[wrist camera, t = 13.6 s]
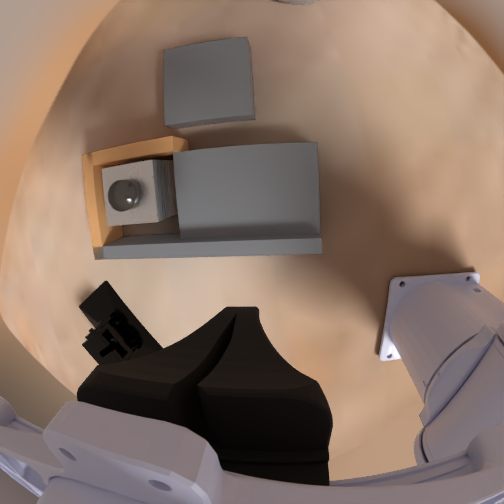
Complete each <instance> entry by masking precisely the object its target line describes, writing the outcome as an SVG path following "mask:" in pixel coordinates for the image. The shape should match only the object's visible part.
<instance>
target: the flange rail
mask: <svg viewBox="0 0 504 504" xmlns="http://www.w3.org/2000/svg"><path fill="white" fill-rule="evenodd" d="M171 155H173V161H174V175H175V187H176V198H177V209H178V219H179V228H180V233H173V234H154V235H137V236H123V232H122V225H117V226H108V223H107V216H106V208H105V199H104V190H103V179H102V169H104V168H109V167H114V166H115V165H117V164H122V163H127V162H133V161H139V160H144V159H151V158H157V157H164V156H171ZM82 164H83V177H84V188H85V198H86V206H87V214H88V221H89V228H90V234H91V240H92V246H93V251H94V257H95V260H99V259H143V258H185V257H224V256H261V255H296V254H322V237H321V235H320V200H319V171H318V150H317V142H300V143H271V144H254V145H240V146H228V147H217V148H207V149H198V150H190V151H189V145H188V140H186V139H183V138H179V137H175V136H168V137H162V138H157V139H151V140H146V141H140V142H135V143H131V144H126V145H121V146H117V147H112V148H108V149H104V150H100V151H96V152H92V153H88V154H84V155H82Z"/></svg>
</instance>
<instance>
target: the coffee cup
mask: <svg viewBox="0 0 504 504" xmlns="http://www.w3.org/2000/svg"><path fill="white" fill-rule="evenodd" d="M277 1H280V2H283V3H288V4H308V3H313V2H316V1H318V0H277Z"/></svg>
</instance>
